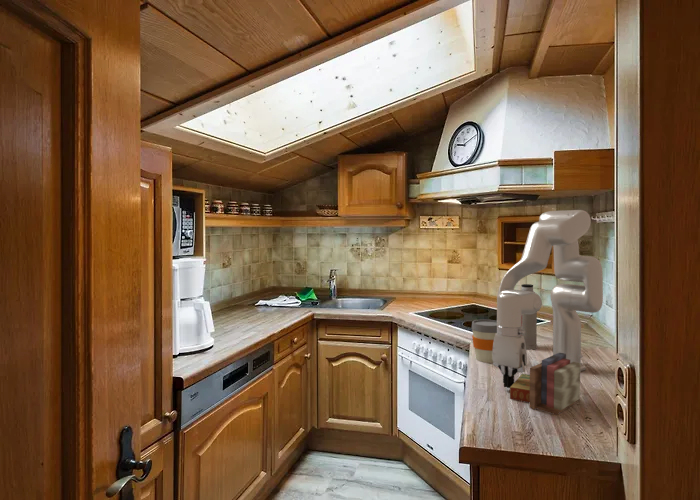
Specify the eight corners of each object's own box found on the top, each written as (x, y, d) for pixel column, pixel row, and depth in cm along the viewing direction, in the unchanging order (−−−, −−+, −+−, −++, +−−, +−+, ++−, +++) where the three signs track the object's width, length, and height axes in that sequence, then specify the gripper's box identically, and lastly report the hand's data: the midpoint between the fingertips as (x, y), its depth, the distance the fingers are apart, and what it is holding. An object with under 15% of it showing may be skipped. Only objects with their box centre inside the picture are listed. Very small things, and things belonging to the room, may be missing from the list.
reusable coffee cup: (472, 353, 188) (472, 318, 187) (503, 356, 184) (504, 320, 183) (470, 362, 176) (470, 324, 175) (503, 365, 172) (504, 326, 171)
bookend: (556, 392, 143) (557, 350, 142) (582, 399, 137) (583, 355, 136) (529, 408, 131) (529, 361, 130) (556, 416, 125) (556, 367, 124)
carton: (509, 399, 138) (509, 386, 138) (521, 384, 152) (521, 372, 151) (537, 405, 134) (537, 391, 134) (547, 389, 147) (547, 376, 147)
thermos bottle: (520, 349, 193) (521, 285, 192) (514, 344, 201) (515, 283, 200) (539, 349, 193) (539, 285, 192) (532, 344, 201) (533, 283, 200)
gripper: (536, 333, 141) (536, 389, 142) (494, 325, 153) (494, 378, 153) (525, 337, 136) (524, 395, 137) (482, 329, 148) (482, 383, 148)
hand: (508, 386), depth 145 cm, fingers closed
